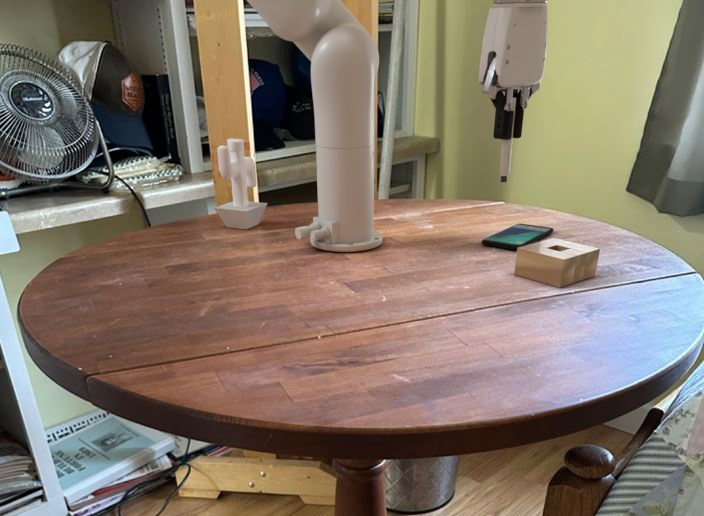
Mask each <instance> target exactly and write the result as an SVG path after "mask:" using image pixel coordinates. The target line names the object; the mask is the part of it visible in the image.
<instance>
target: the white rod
mask: <svg viewBox="0 0 704 516" xmlns="http://www.w3.org/2000/svg"><path fill="white" fill-rule="evenodd" d="M515 106H516V98H515V97H512V108H511V110H510V111H514V117H513V127H512V137H511V139H510V140H503V139H501V149H500V161H499V162H500V163H499V173H498V174H499V176H500V183H507V182H508V177H509V176H510V173H511V163H512V152H513V151H512V150H513V141H514V140H513V139H514V138H513V129H514V118H515Z"/></svg>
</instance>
